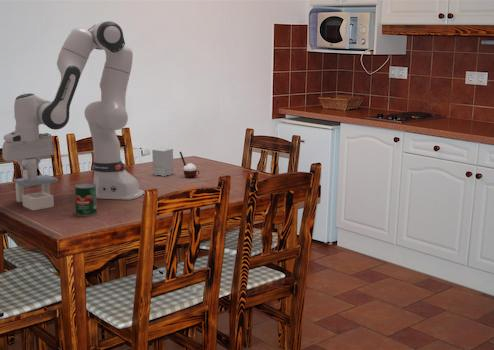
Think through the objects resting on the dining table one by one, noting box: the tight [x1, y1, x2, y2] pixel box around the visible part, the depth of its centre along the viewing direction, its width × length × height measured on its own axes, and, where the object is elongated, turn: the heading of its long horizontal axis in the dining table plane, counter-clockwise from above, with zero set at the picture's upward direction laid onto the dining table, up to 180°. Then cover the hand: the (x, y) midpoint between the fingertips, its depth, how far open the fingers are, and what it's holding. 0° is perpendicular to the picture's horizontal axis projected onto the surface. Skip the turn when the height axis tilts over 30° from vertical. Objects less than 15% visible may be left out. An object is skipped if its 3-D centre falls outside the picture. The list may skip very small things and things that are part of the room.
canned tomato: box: [74, 182, 98, 217], centre depth 252 cm, size 8×8×11 cm
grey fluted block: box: [151, 147, 174, 177], centre depth 320 cm, size 7×7×13 cm
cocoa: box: [179, 151, 200, 178], centre depth 316 cm, size 10×6×12 cm, turn 57°
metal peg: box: [22, 158, 38, 182], centre depth 265 cm, size 4×4×9 cm
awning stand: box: [13, 174, 59, 211], centre depth 266 cm, size 18×15×9 cm
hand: (29, 169), depth 265 cm, fingers closed on metal peg, 4 cm apart
